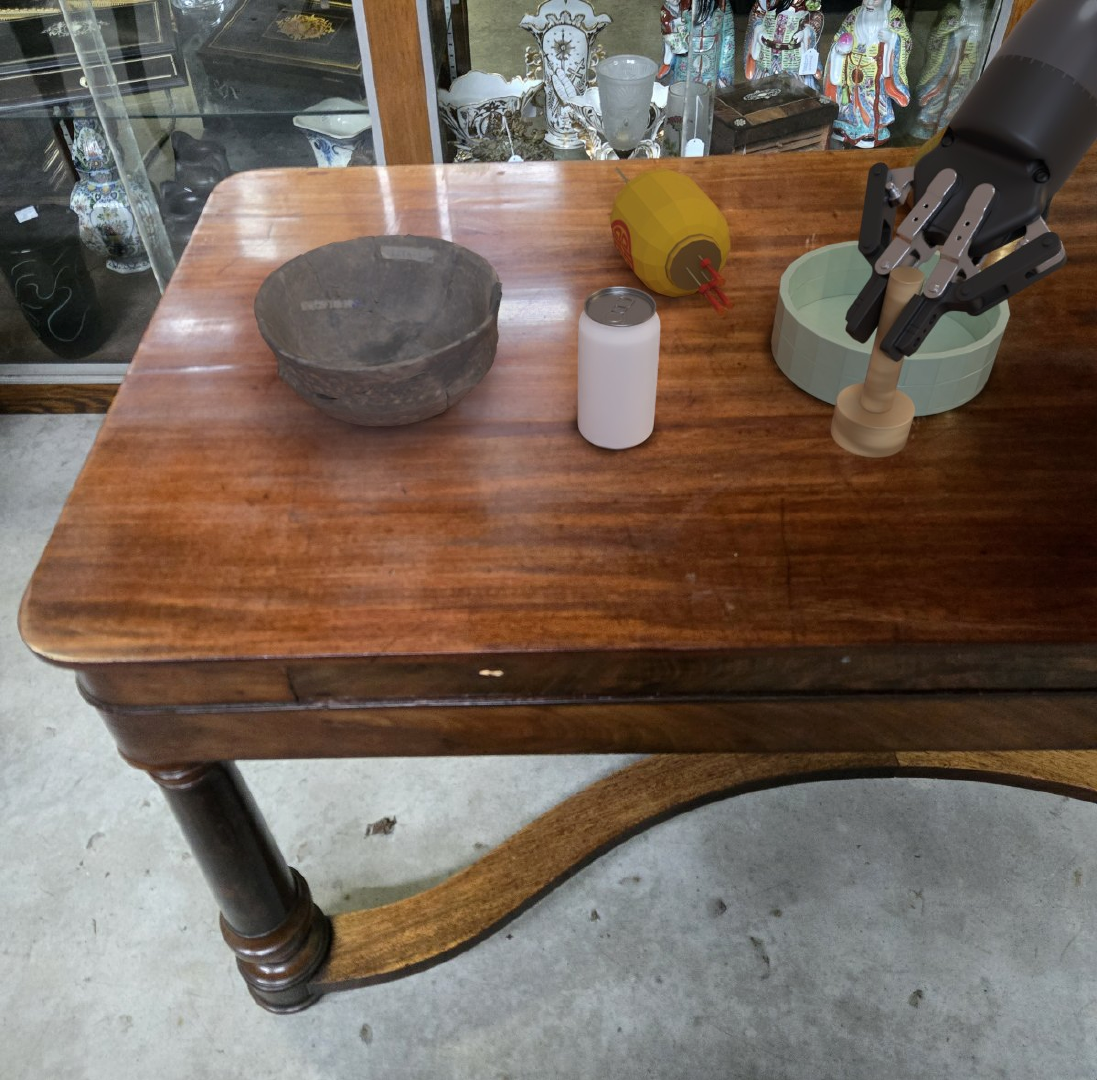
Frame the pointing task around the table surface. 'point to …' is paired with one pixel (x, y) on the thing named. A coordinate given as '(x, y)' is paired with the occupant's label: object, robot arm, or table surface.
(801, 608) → the table surface
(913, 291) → the wooden stamp
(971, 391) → the mixing bowl
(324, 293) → the bowl
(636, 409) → the can
